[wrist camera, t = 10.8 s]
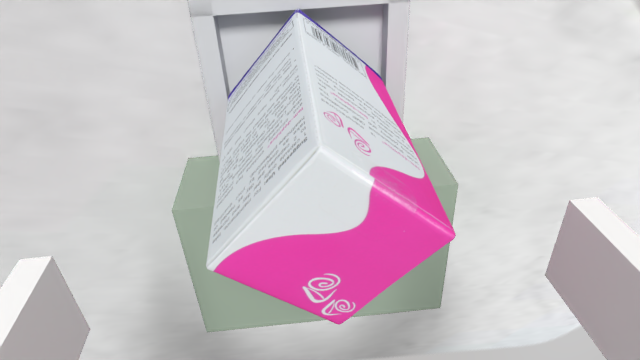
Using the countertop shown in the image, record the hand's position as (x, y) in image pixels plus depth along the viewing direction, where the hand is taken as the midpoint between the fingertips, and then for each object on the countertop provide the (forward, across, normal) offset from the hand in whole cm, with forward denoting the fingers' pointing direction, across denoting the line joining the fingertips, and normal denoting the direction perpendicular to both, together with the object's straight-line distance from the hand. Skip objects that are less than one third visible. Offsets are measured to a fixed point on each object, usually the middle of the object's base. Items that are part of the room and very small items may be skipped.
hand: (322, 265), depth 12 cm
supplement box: (+13, +1, 0) cm, 13 cm away
